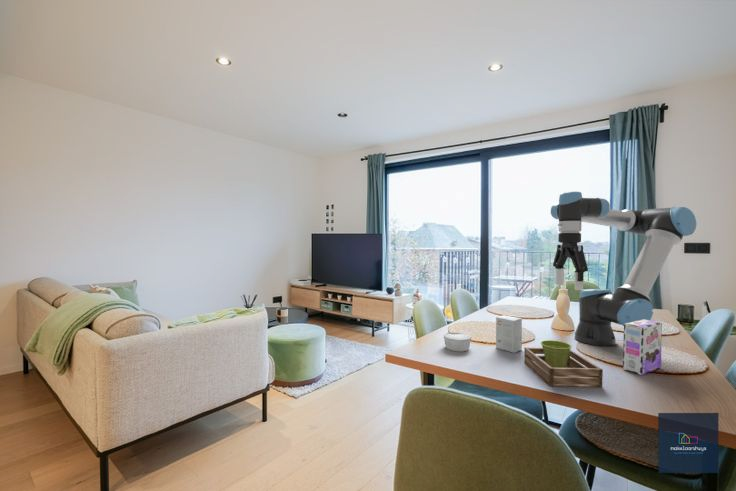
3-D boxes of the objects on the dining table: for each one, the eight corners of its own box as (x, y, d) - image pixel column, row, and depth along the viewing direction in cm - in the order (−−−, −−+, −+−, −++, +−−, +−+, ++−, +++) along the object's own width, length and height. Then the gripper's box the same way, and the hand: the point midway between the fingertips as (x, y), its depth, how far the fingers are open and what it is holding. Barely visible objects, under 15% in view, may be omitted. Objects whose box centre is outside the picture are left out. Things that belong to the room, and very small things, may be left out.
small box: (522, 349, 138) (522, 318, 137) (514, 353, 134) (514, 320, 133) (503, 344, 144) (503, 314, 144) (495, 348, 140) (495, 316, 140)
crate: (567, 363, 123) (568, 348, 123) (602, 387, 103) (602, 369, 103) (524, 362, 124) (524, 347, 124) (550, 386, 104) (550, 368, 104)
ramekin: (461, 342, 147) (461, 330, 147) (476, 351, 137) (477, 338, 136) (438, 345, 144) (438, 333, 143) (453, 354, 133) (453, 341, 133)
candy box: (641, 375, 112) (642, 326, 112) (621, 369, 117) (622, 322, 117) (661, 368, 118) (663, 322, 118) (642, 362, 124) (643, 318, 123)
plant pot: (534, 366, 120) (534, 342, 119) (552, 362, 123) (552, 338, 123) (559, 376, 111) (559, 350, 111) (577, 371, 115) (577, 346, 115)
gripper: (544, 232, 142) (543, 282, 143) (578, 232, 117) (577, 292, 118) (562, 232, 142) (562, 282, 142) (600, 232, 117) (599, 292, 117)
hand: (568, 287), depth 130 cm, fingers open, 13 cm apart
